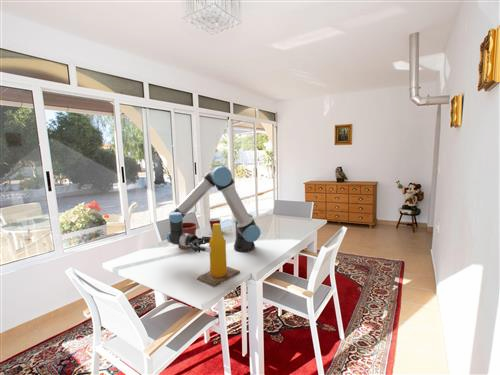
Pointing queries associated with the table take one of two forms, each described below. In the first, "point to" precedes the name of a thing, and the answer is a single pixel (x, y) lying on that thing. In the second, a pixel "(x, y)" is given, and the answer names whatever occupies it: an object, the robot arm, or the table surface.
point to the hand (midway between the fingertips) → (218, 246)
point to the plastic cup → (214, 221)
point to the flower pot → (188, 231)
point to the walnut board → (216, 281)
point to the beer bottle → (217, 252)
